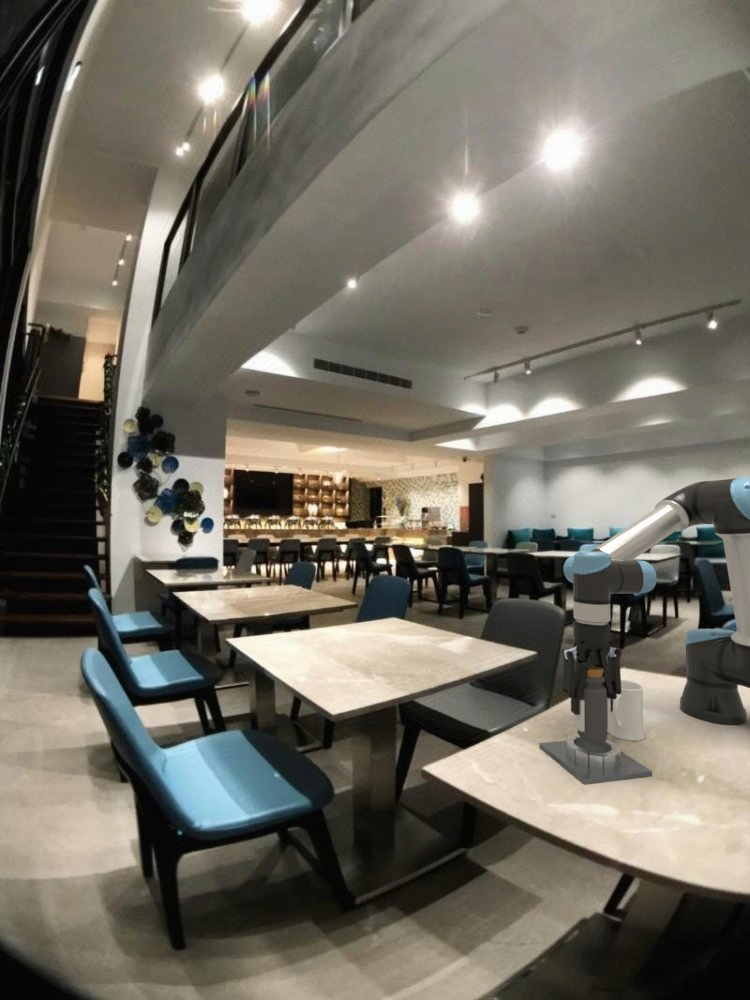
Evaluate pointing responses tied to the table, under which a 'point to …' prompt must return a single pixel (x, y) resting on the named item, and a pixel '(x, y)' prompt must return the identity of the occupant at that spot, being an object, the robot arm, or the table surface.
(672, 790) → the table surface
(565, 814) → the table surface
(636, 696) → the mug
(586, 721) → the bottle
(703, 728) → the table surface
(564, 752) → the collar plate
